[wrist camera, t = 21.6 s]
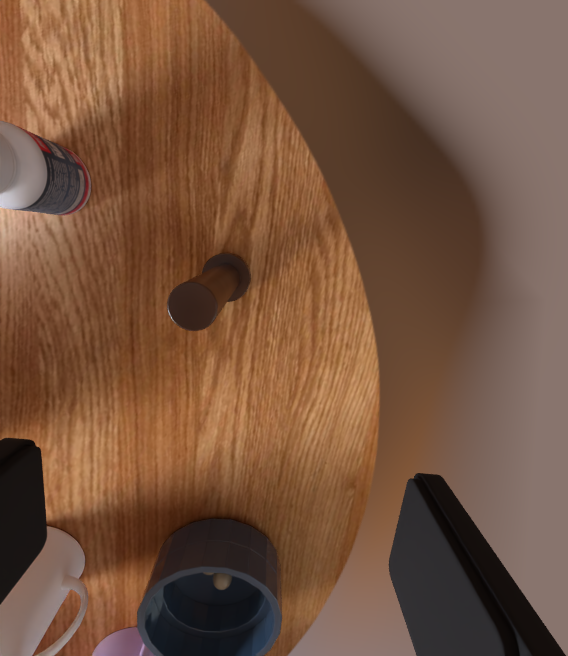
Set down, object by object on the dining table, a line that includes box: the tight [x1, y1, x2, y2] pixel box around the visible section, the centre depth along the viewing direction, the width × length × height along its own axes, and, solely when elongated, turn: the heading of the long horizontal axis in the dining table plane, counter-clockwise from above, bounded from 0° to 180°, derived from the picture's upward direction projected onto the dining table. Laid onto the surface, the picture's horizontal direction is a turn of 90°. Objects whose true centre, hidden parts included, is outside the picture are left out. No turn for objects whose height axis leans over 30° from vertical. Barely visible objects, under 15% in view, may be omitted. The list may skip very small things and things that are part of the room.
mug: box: [0, 526, 88, 656], centre depth 31 cm, size 12×8×12 cm
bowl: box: [137, 519, 282, 656], centre depth 35 cm, size 13×13×6 cm
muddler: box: [167, 253, 251, 331], centre depth 23 cm, size 4×4×14 cm
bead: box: [213, 573, 232, 590], centre depth 36 cm, size 2×2×2 cm
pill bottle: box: [0, 121, 91, 215], centre depth 23 cm, size 5×5×9 cm
